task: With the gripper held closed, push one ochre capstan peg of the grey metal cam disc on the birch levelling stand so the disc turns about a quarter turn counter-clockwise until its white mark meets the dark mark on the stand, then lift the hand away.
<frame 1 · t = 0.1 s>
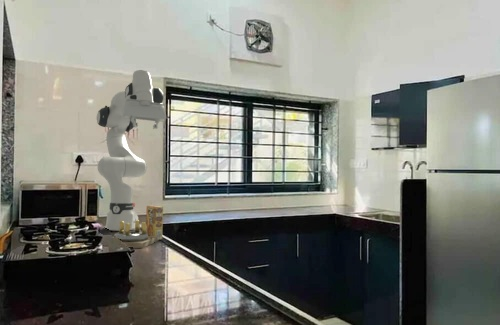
hand: (145, 127, 180), 52 cm above the worktop, tool tilted 20°, fingers open, 8 cm apart
stand plate: (132, 243, 169), on the worktop
candy box: (153, 239, 182), on the worktop
cam disc: (131, 230, 168), point 6 cm above the worktop, hinge at 0.0°
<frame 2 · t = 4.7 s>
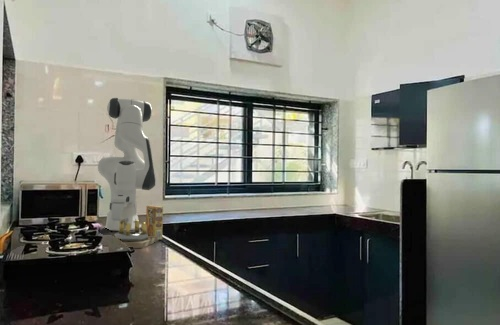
hand: (124, 228, 172), 6 cm above the worktop, tool pointing down, fingers closed
cam disc: (131, 230, 168), point 6 cm above the worktop, hinge at 2.0°, touching gripper
everything else where it was.
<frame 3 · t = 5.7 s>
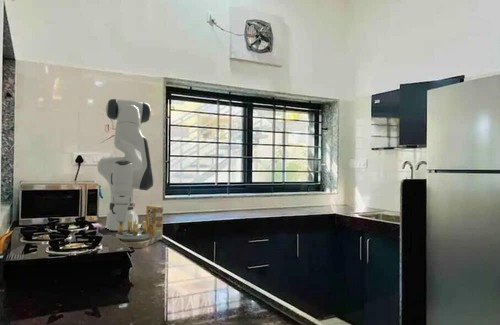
hand: (121, 229, 169), 6 cm above the worktop, tool pointing down, fingers closed, pressing on cam disc
cam disc: (133, 230, 168), point 6 cm above the worktop, hinge at 37.6°, touching gripper
everything else where it was.
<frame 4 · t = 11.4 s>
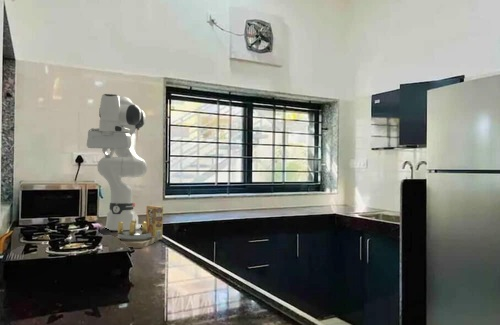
hand: (108, 158, 178), 37 cm above the worktop, tool pointing down, fingers closed
cam disc: (134, 230, 169), point 6 cm above the worktop, hinge at 110.8°
everything else where it was.
at the end: cam disc at +111° (first picture: +0°) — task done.
